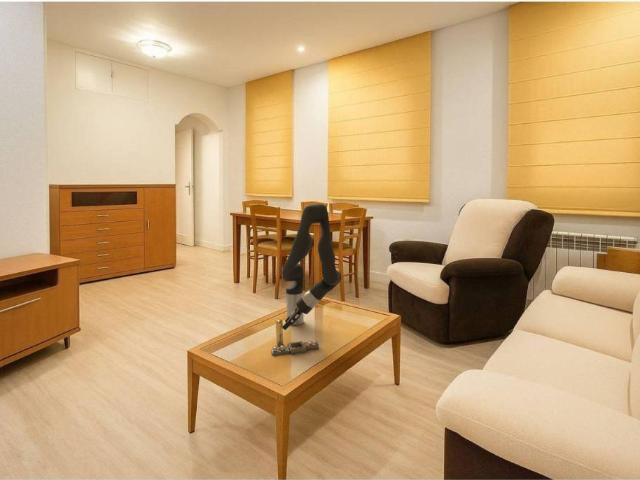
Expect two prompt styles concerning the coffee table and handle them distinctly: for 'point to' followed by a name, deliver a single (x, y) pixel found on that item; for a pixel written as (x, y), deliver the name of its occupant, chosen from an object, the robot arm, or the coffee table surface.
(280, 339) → the pin
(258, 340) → the coffee table surface
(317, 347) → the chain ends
